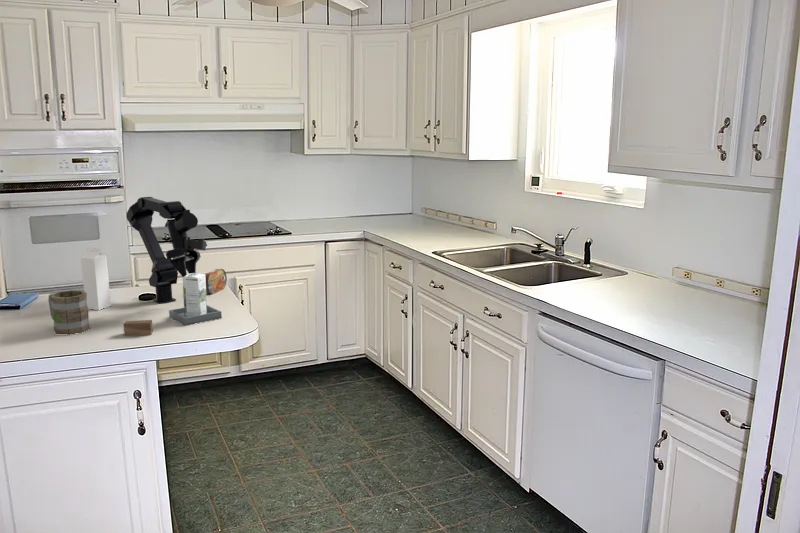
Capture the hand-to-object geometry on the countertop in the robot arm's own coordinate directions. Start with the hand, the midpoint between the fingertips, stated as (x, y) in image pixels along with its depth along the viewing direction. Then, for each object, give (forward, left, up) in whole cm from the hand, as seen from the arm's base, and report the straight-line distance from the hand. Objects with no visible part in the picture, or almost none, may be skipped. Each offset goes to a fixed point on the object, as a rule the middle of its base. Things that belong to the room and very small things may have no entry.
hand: (189, 278), depth 239 cm
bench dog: (+15, -25, -12) cm, 31 cm away
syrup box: (+11, -3, -11) cm, 16 cm away
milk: (-25, -24, -12) cm, 37 cm away
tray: (+10, -3, -12) cm, 16 cm away
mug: (-5, -40, -12) cm, 42 cm away
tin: (-21, +19, -12) cm, 31 cm away
